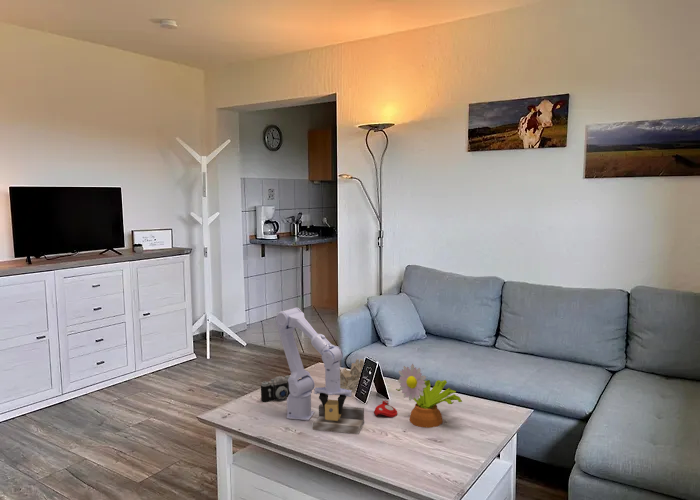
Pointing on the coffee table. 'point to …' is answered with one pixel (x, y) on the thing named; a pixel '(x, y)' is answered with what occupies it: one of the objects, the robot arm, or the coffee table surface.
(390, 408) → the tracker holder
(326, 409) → the cabinet block
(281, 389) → the camera
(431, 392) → the decorative plant
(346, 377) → the rough stone chunk
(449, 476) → the coffee table surface
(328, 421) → the board
